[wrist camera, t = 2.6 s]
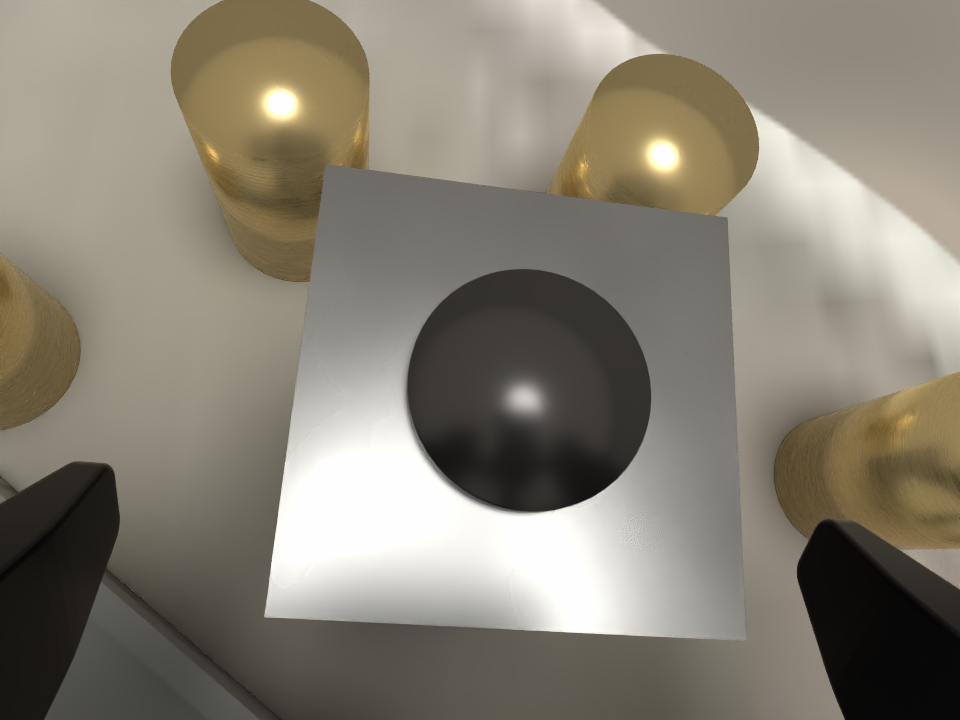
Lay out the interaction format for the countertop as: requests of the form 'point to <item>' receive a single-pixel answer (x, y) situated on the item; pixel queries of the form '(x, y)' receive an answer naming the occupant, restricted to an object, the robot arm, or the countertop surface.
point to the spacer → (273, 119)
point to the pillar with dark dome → (512, 416)
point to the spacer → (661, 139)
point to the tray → (143, 667)
